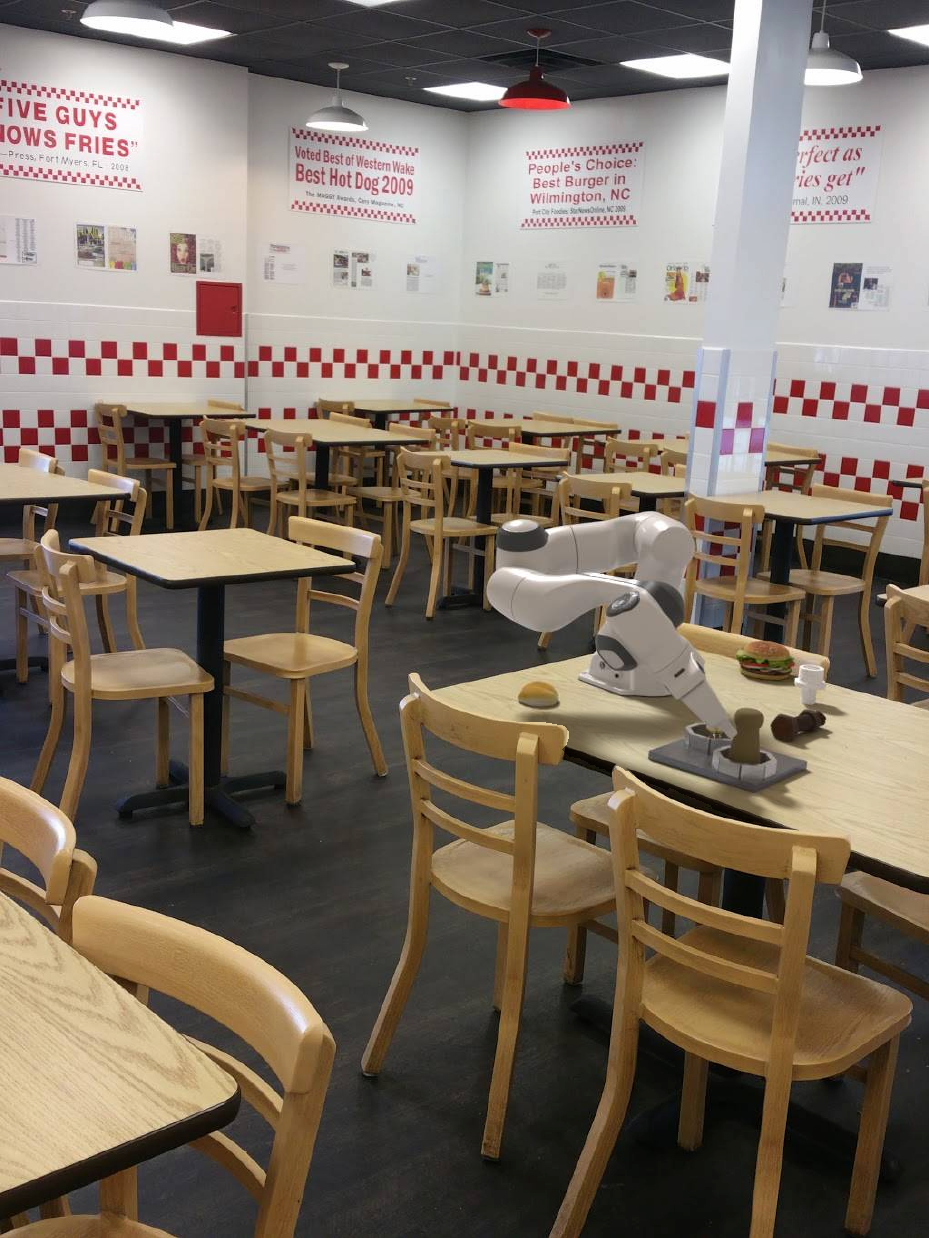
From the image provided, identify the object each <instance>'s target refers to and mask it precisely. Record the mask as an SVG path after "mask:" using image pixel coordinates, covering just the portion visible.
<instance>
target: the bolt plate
mask: <svg viewBox="0 0 929 1238" xmlns="http://www.w3.org/2000/svg"><path fill="white" fill-rule="evenodd" d="M727 714H728V718H727V719H728V721H729V722H730V713H728V712H727ZM732 740H733V738H729V737H728V736H727V735H726V734H725V733H724V732H723V731H722V730H721V729H719V728H718V727H716V728H711V727H709V726H708V725H707V724H706V723H704V722H695V723H692V724H688V725H686V726H685V727H684V733H683V738H681V739H678V740H674V741H672V742H670V743H667V744H664V745H662V746H659V747H656V748H653V749H649V750H648V755H647V759H648V760H652V761H654V762H657V763H660V764H663V765H667V766H670V767H674V768H676V769H678V770H682V771H685V772H688V773H692V774H695V775H698V776H701V777H704V778H708V779H710V780H713V781H717V782H720V783H724V784H726V785H730V786H733V787H735V788H739V789H742V790H746V791H747V792H752V793H757V792H759V791H761V790H763V789H766V788H768V787H770V786H773V785H775V784H777V783H779V782H781V781H784V780H785V779H789V778H790V777H792V776H795V775H796V774H799V773H801V772H803V771H805V770H807V767H808V761H807V760H806V759H805V760H804V759H801V758H797V757H794V756H790V755H787V754H784V753H780V752H778V751H777V752H776V751H773V750H769V749H765V748H763V747H760V764H748V763H739V762H736V761H733V760H729V759H728V756H729V752H730V748H731V744H732Z"/></svg>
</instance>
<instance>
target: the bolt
mask: <svg viewBox="0 0 929 1238" xmlns="http://www.w3.org/2000/svg"><path fill="white" fill-rule="evenodd" d="M826 721H827V717H826V716H825V714H824V713H823V712H821V711H819V710H812V709H809V708H807V709H803V710H802V711H801V712H800V713H799V714H798V715H797V716H791V715H789V714H784V713H779V714H777V715H776V716H775V718H774V719H773V720H772V721H771V723H770V731H771V733H772V736H773V738H774V739H775V740H778V741H782V742H786V743H790V742H793V740H794V739H795V738H796V736H797V735H798V734H799V733H801V732H802V733H803V732H805V733H809V734H814V733H816V732H817V731H818V730H819V729H820V728H821V727H823V726H824V725H825V724H826Z"/></svg>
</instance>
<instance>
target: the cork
mask: <svg viewBox="0 0 929 1238" xmlns="http://www.w3.org/2000/svg"><path fill="white" fill-rule="evenodd" d="M764 717H765V716H764V714H763V712H761V711H760V710H758V709H757V708H753V707H752V708H751V707H741V708H738V709H737V710H735V713H734V715H733V723H734V725H735V727H734V728H735V729H736V731H737V735H735V736H734V737H733V740H732V744H731V748H730V752H729V756H728V759H729V760H733V761H736V762H739V763H748V764H760V748H761V744H760V741H761V740H760V739H761V738H760V731H761V730H760V729H761V728H762V727H763V725H764V721H765V718H764Z"/></svg>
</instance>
